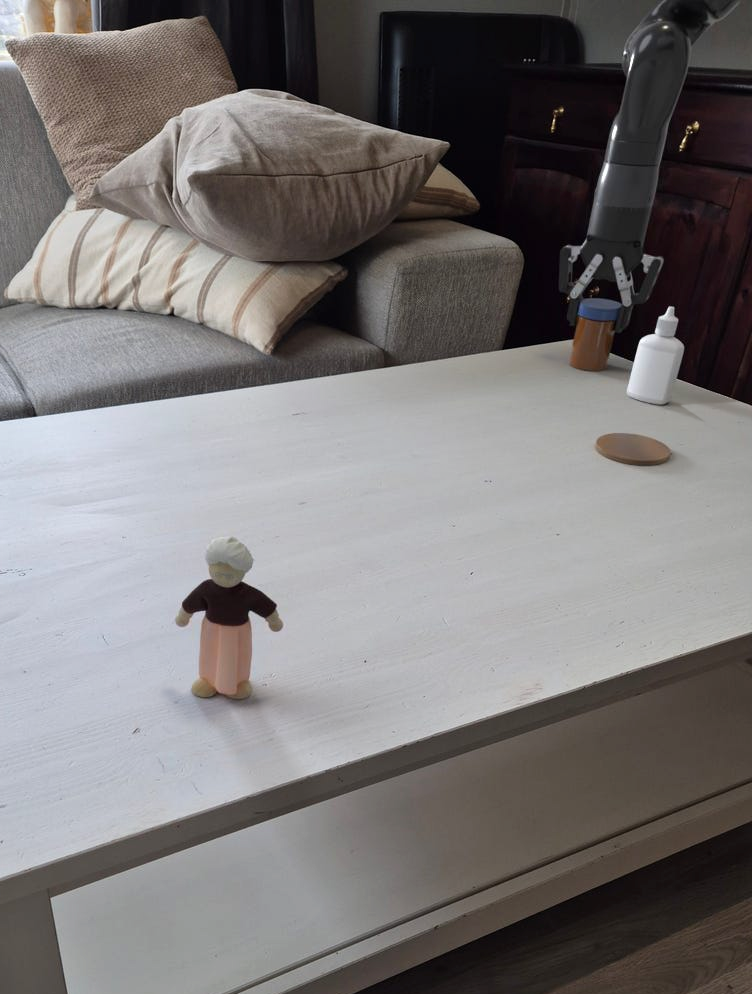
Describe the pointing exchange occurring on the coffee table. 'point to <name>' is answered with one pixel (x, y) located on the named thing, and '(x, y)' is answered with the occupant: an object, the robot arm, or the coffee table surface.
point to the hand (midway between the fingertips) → (595, 327)
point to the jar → (592, 344)
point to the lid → (599, 309)
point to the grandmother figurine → (226, 620)
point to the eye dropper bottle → (657, 363)
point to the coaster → (632, 449)
